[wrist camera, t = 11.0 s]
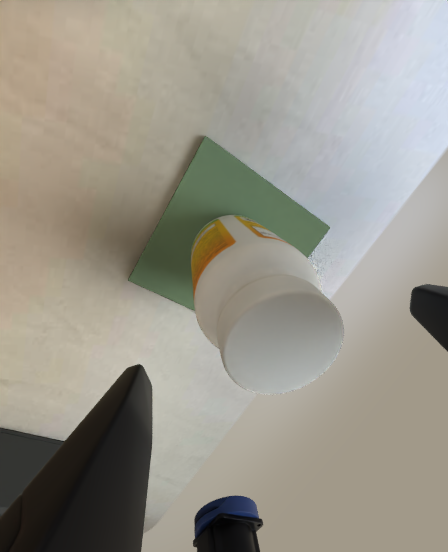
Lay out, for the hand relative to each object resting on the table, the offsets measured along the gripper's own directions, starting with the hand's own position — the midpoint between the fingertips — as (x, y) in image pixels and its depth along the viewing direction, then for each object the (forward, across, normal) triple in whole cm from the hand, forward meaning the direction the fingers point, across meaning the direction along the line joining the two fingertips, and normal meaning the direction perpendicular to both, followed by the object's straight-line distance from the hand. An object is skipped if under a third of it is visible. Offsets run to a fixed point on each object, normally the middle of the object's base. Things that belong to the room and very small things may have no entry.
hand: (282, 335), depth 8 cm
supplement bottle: (+10, 0, 0) cm, 10 cm away
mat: (+10, 0, 0) cm, 10 cm away
